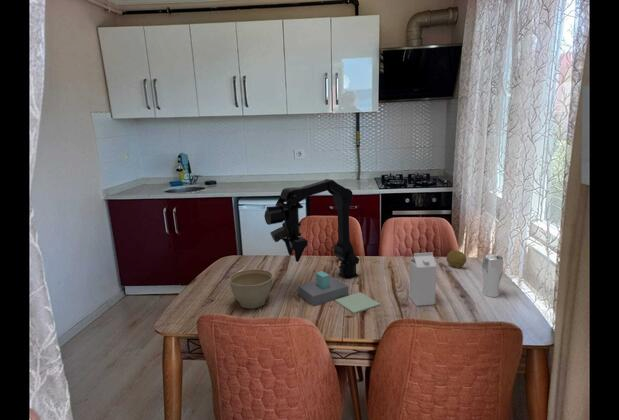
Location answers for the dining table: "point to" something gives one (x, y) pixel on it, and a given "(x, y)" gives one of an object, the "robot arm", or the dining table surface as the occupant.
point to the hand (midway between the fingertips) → (293, 258)
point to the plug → (322, 280)
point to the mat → (357, 302)
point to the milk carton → (423, 279)
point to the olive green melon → (456, 258)
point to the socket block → (323, 292)
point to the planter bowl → (251, 287)
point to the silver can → (492, 274)
